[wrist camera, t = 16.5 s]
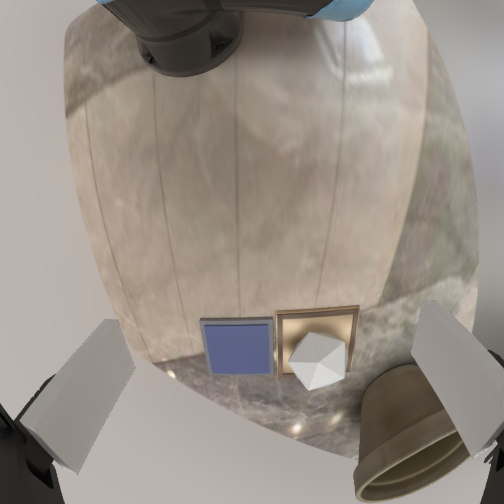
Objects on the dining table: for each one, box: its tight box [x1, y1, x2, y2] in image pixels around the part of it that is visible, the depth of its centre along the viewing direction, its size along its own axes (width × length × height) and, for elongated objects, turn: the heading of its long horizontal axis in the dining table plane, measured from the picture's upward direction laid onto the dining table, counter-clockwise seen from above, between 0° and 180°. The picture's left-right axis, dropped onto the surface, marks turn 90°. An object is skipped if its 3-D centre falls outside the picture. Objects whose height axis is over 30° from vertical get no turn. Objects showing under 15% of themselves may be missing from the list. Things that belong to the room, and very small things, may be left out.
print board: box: [276, 305, 360, 378], centre depth 41 cm, size 13×13×1 cm
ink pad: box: [200, 317, 274, 375], centre depth 41 cm, size 11×11×1 cm
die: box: [288, 332, 348, 391], centre depth 37 cm, size 8×9×10 cm
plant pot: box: [353, 364, 471, 503], centre depth 34 cm, size 25×25×22 cm
